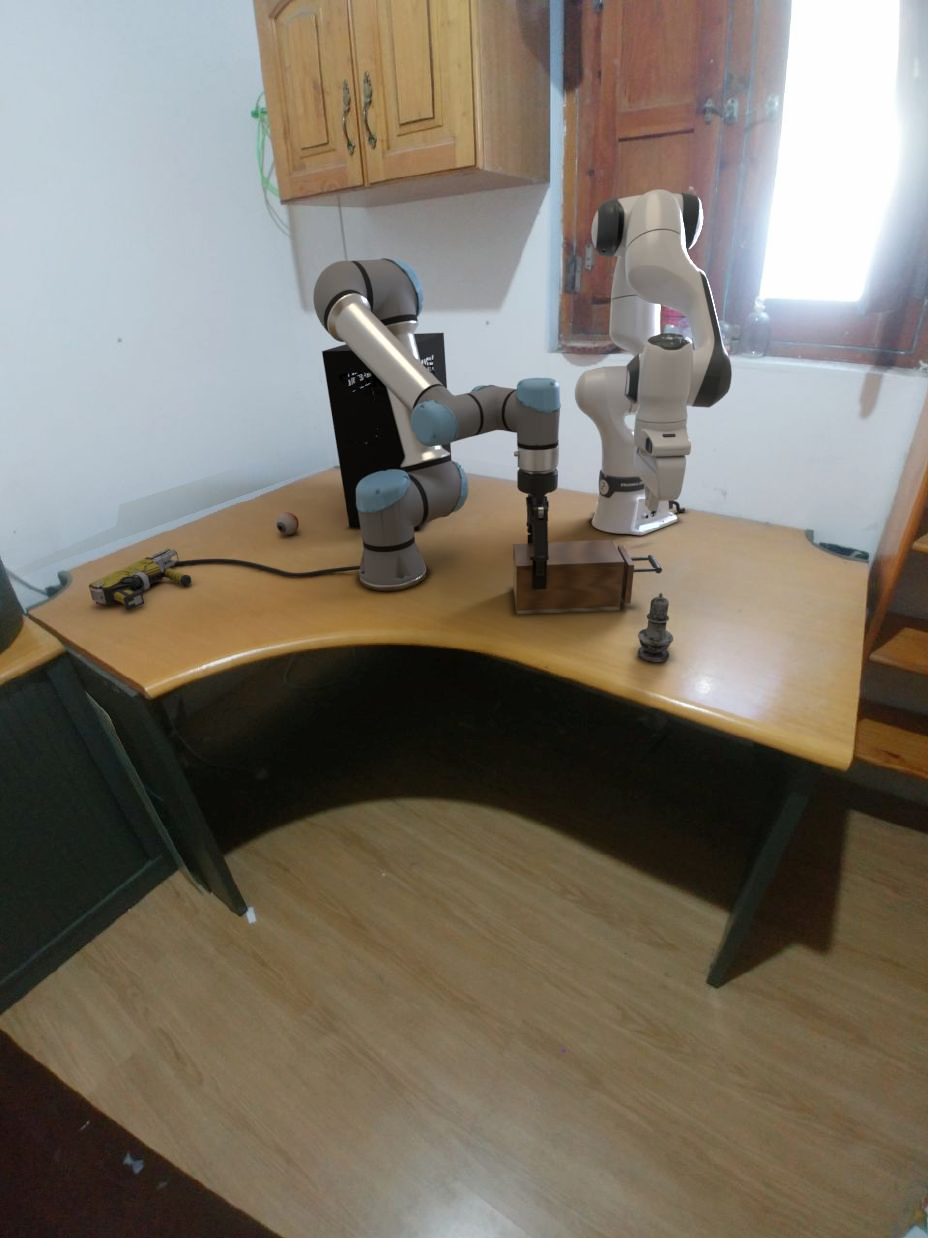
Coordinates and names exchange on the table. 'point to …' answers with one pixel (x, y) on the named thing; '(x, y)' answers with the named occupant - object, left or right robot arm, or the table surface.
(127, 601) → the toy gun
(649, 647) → the stone chess piece
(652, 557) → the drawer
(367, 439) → the black piece
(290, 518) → the eyeball
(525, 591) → the brown wooden box
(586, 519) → the table surface
